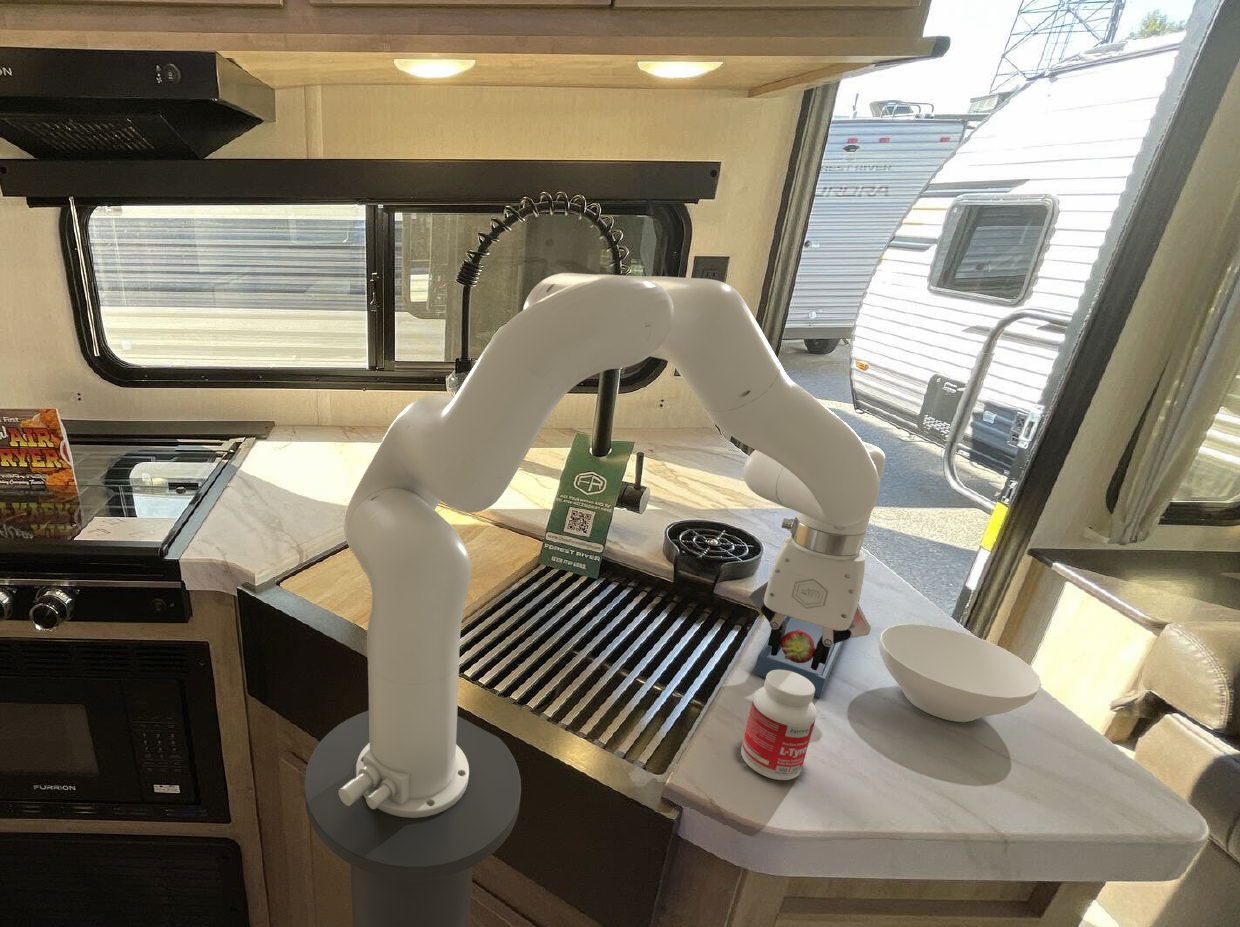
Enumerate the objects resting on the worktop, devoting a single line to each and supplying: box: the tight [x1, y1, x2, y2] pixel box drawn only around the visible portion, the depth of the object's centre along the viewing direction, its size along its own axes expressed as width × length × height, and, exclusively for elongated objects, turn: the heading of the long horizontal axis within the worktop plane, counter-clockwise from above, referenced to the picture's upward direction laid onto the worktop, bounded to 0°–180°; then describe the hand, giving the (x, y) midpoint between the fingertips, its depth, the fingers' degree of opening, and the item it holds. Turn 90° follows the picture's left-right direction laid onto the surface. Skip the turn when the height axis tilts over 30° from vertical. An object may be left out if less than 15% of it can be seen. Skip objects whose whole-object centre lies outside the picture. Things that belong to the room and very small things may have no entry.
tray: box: [753, 616, 845, 699], centre depth 97 cm, size 26×8×3 cm, turn 139°
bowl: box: [878, 623, 1042, 723], centre depth 84 cm, size 16×16×7 cm
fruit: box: [781, 630, 815, 663], centre depth 90 cm, size 4×6×5 cm
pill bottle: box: [740, 670, 818, 781], centre depth 73 cm, size 6×6×11 cm
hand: (795, 657), depth 90 cm, fingers closed on fruit, 4 cm apart
